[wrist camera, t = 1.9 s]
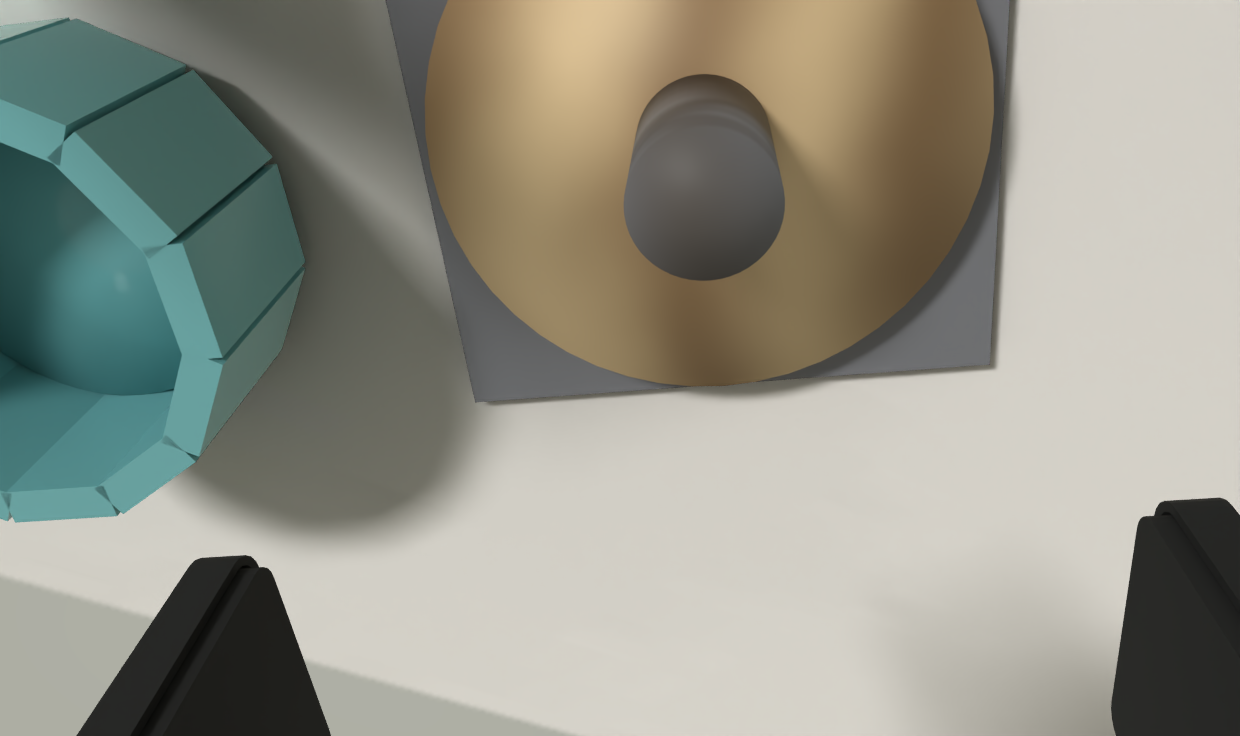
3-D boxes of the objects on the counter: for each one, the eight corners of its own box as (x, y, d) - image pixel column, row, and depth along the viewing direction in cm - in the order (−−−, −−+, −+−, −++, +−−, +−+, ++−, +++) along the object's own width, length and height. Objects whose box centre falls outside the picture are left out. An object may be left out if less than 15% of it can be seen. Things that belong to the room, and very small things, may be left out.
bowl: (242, -10, 27) (112, 44, 21) (352, 376, 33) (274, 506, 27) (-157, 41, 29) (-386, 105, 23) (14, 403, 35) (-133, 531, 28)
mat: (1017, -247, 24) (1023, -248, 23) (985, 356, 31) (989, 364, 31) (357, -153, 26) (351, -153, 25) (478, 394, 33) (475, 402, 33)
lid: (999, -220, 24) (1084, -227, 18) (973, 351, 31) (1029, 463, 25) (376, -133, 25) (292, -117, 20) (487, 387, 32) (447, 499, 27)
